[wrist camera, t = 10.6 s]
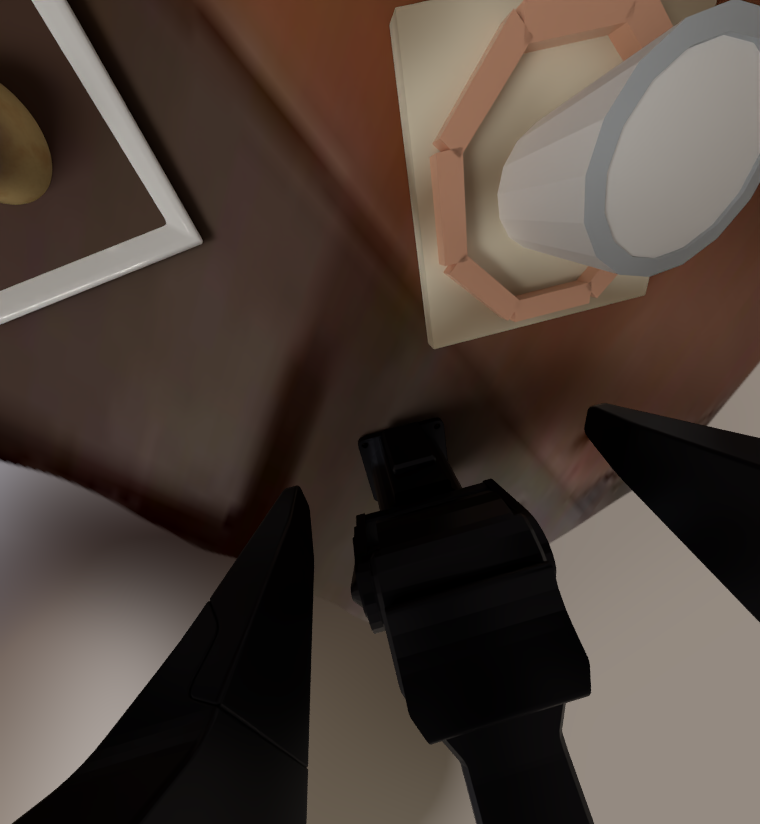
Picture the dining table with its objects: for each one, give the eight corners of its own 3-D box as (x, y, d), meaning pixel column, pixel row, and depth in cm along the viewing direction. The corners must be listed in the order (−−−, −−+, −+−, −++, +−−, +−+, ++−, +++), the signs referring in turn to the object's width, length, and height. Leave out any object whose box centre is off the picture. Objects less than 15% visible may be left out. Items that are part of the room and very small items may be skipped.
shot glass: (606, 57, 14) (827, -76, 8) (619, 218, 17) (779, 212, 11) (466, 150, 15) (568, 96, 9) (506, 285, 18) (599, 313, 12)
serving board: (629, 291, 21) (645, 295, 20) (428, 343, 20) (434, 349, 19) (700, -41, 14) (732, -64, 12) (389, 25, 13) (395, 7, 12)
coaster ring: (636, 285, 19) (650, 287, 19) (445, 333, 19) (451, 338, 18) (706, -28, 13) (734, -47, 12) (418, 34, 12) (425, 19, 12)
